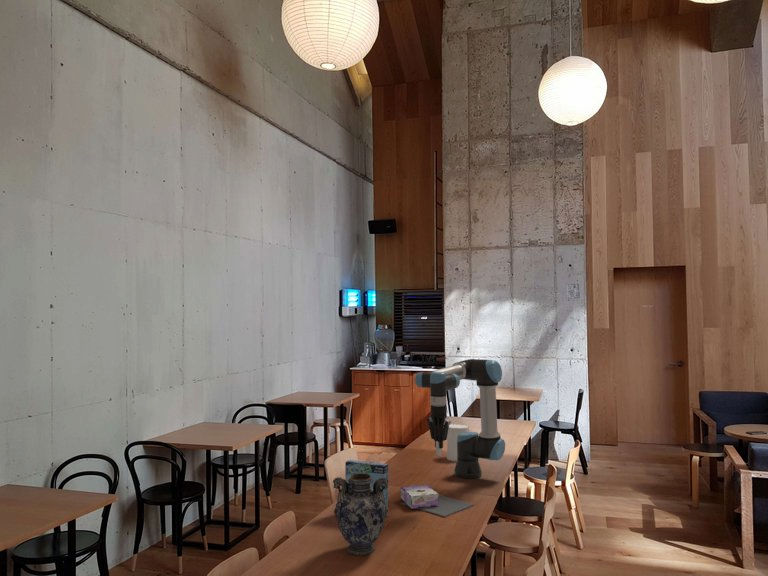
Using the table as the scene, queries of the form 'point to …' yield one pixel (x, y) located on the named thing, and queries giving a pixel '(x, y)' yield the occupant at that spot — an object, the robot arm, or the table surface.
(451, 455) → the canister
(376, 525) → the decorative vase
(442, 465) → the table surface
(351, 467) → the blue cardboard box
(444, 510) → the rubber mat
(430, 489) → the candy box
